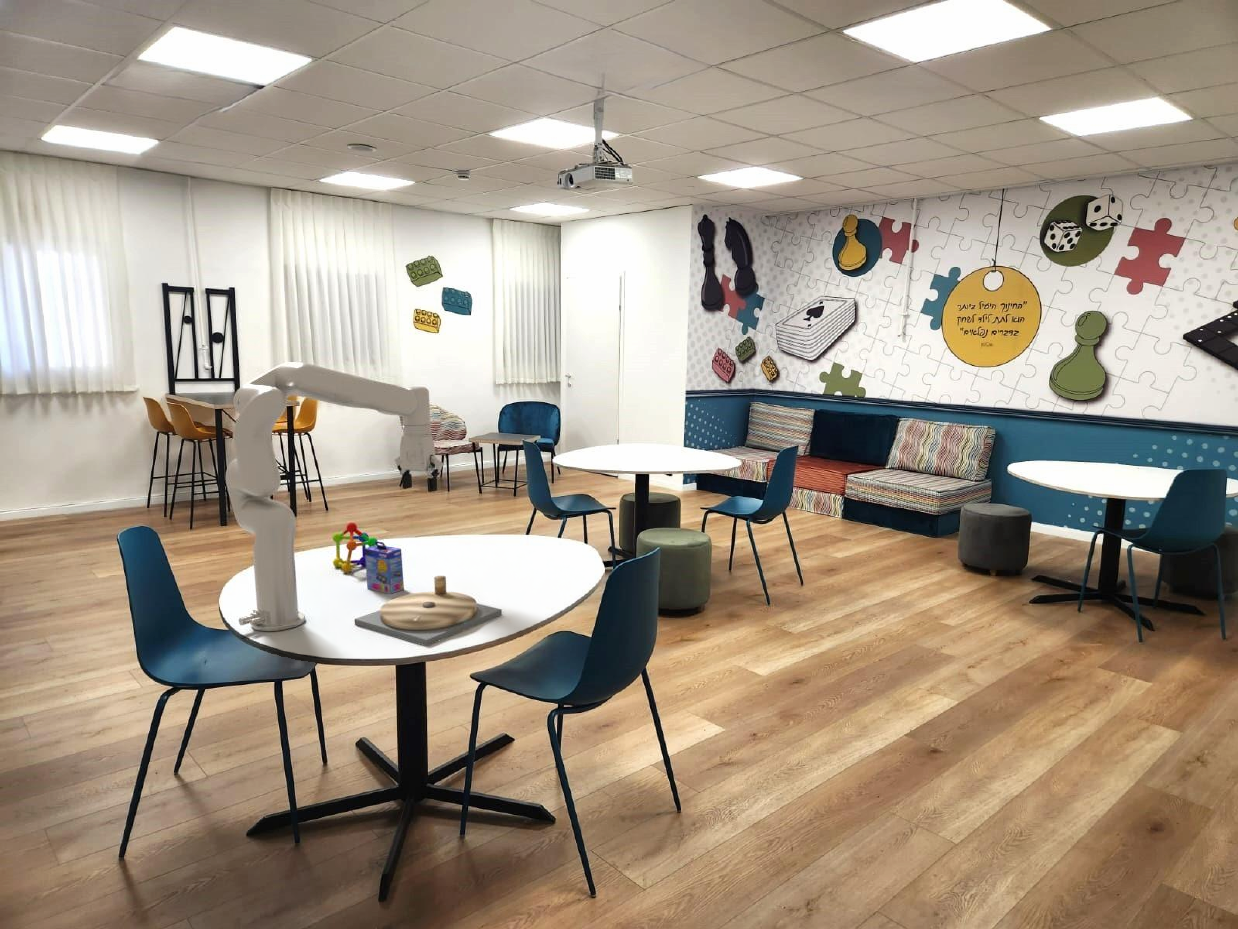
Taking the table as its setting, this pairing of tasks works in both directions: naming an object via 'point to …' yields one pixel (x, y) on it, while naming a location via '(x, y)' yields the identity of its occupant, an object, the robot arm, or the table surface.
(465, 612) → the turntable
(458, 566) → the table surface
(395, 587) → the ink cartridge box
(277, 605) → the robot arm
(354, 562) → the educational toy
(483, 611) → the base plate
